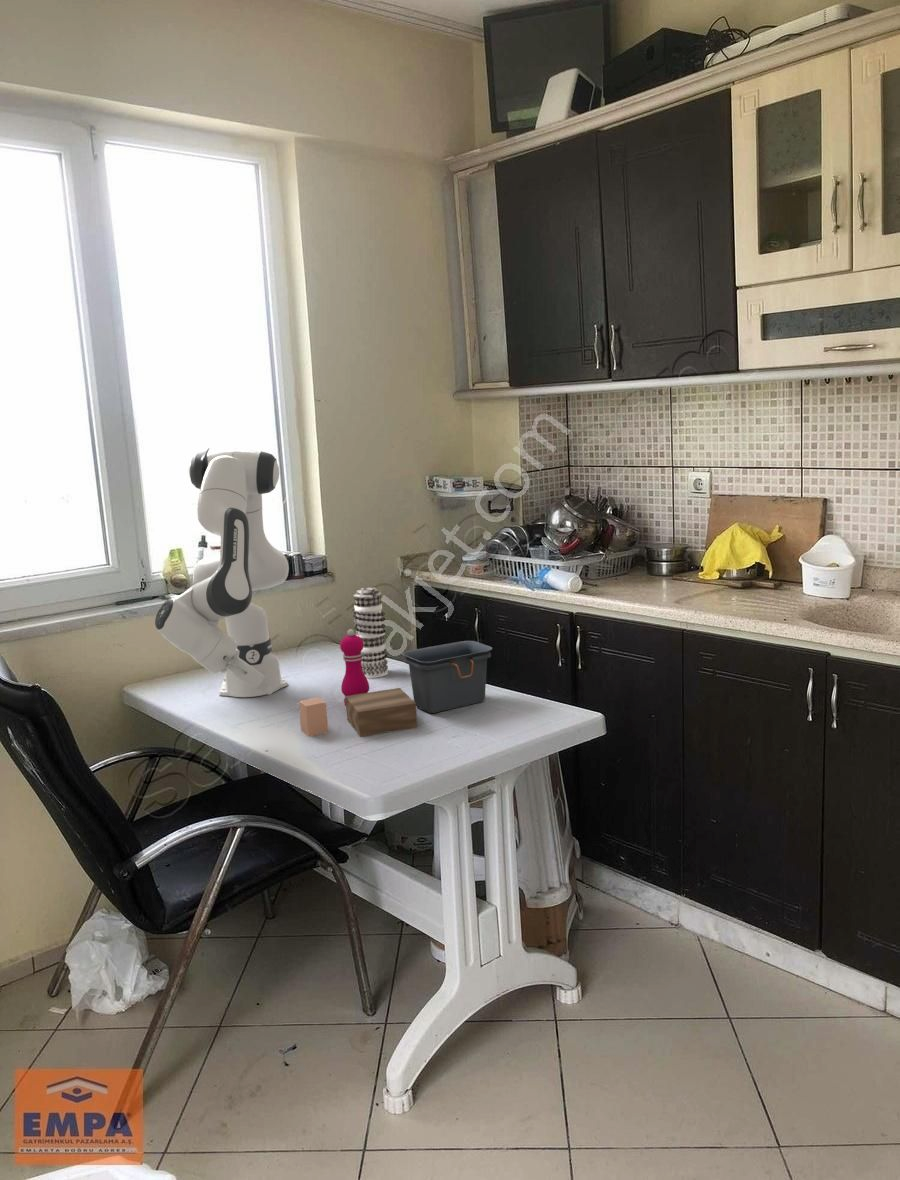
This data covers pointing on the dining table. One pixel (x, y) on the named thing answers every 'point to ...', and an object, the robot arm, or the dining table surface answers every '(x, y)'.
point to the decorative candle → (370, 631)
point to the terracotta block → (313, 716)
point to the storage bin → (448, 675)
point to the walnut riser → (381, 712)
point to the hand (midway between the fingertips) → (265, 686)
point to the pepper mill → (353, 666)
